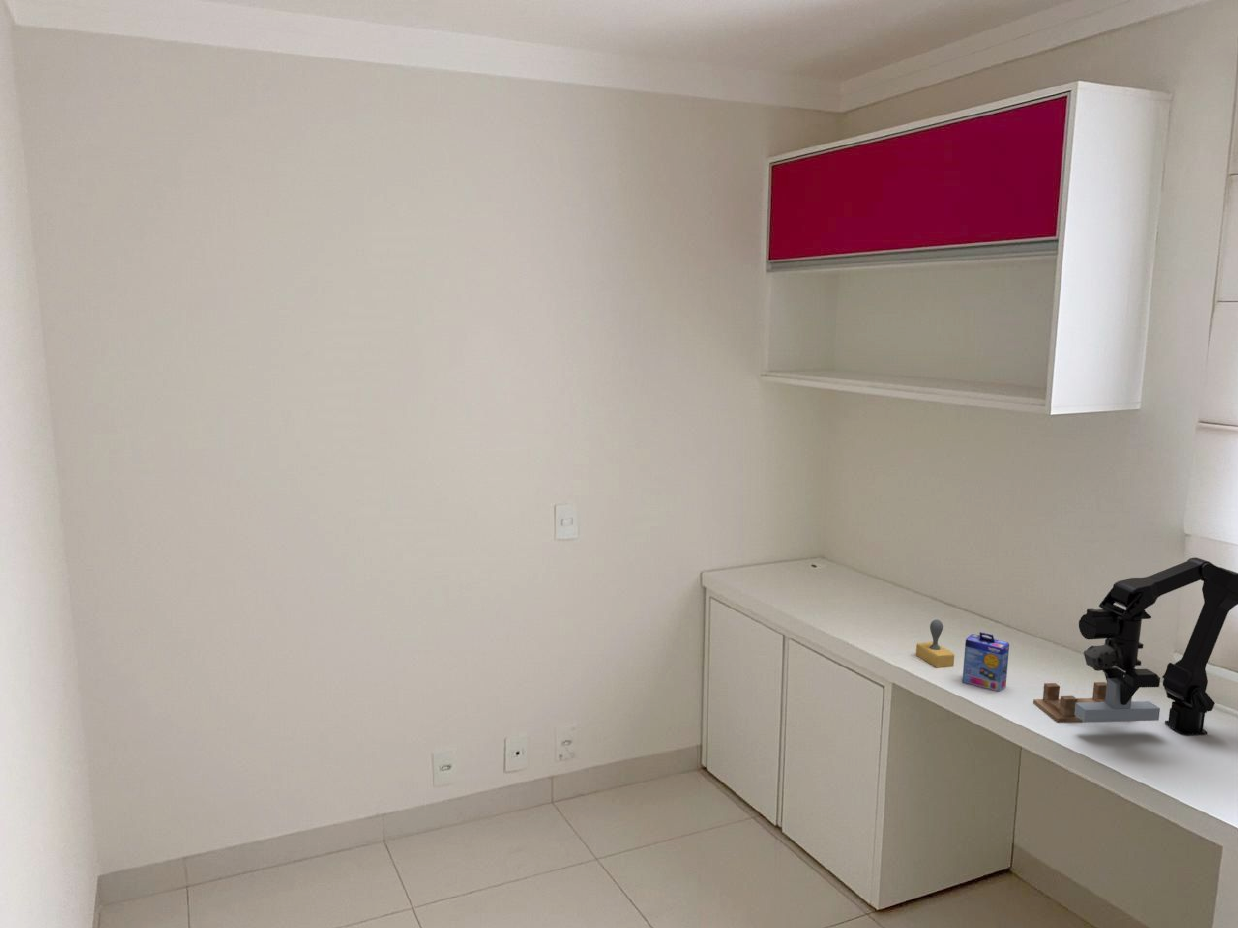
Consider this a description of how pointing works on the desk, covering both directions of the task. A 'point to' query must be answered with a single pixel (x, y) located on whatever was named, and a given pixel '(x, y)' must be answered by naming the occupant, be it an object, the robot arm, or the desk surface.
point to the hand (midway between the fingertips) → (1118, 700)
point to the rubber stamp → (935, 648)
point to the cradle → (1066, 701)
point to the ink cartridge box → (985, 662)
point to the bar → (1116, 708)
